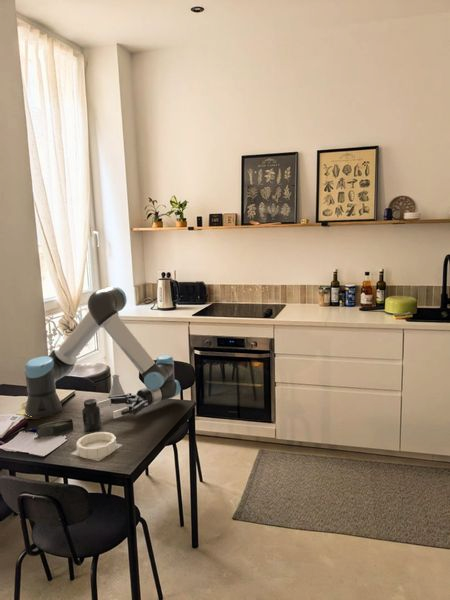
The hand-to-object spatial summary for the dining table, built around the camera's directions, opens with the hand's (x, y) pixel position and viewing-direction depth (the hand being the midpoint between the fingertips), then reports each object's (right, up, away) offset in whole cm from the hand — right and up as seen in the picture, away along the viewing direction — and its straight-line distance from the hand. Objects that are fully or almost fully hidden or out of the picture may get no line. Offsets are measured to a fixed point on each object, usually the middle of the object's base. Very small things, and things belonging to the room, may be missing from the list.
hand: (104, 410), depth 190 cm
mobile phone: (-19, -8, -5) cm, 21 cm away
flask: (-3, -1, +35) cm, 35 cm away
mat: (+2, -10, -20) cm, 22 cm away
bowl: (+2, -9, -20) cm, 22 cm away
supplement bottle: (-4, -7, -2) cm, 9 cm away
